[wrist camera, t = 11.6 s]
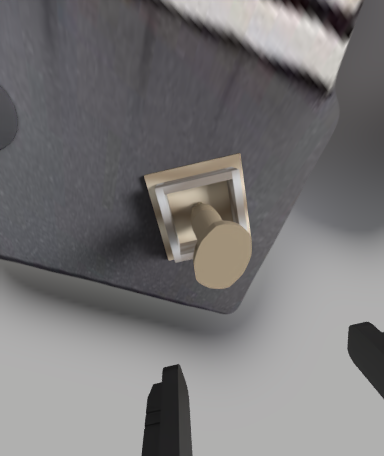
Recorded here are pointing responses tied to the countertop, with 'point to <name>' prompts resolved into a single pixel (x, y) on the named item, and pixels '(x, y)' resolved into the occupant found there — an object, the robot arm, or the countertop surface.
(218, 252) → the handle
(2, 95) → the robot arm
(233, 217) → the small square bin
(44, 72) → the countertop surface
